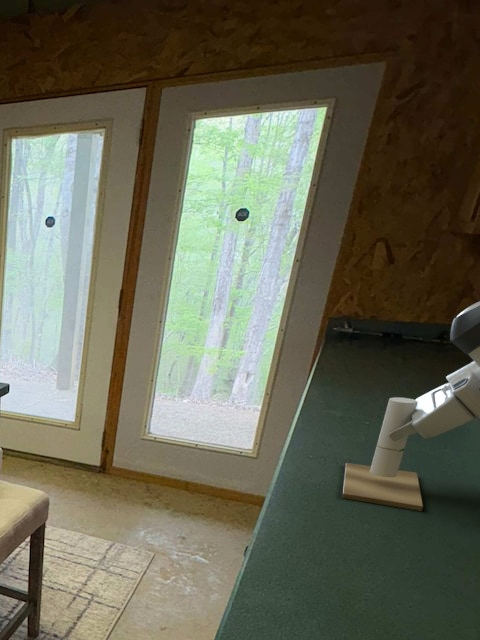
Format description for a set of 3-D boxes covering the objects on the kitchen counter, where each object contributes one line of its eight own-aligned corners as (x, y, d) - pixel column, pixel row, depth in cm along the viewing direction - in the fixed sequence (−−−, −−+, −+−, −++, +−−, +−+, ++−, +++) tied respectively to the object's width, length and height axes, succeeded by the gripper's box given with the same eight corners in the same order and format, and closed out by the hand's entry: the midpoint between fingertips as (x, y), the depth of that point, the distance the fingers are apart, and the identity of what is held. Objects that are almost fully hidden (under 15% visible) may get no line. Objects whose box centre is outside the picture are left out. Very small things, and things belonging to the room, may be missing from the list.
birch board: (345, 467, 136) (346, 462, 136) (415, 477, 129) (417, 472, 129) (341, 498, 121) (343, 493, 121) (421, 511, 114) (423, 506, 114)
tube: (376, 477, 123) (397, 402, 117) (365, 469, 126) (384, 397, 121) (401, 477, 122) (423, 403, 116) (388, 470, 126) (409, 397, 120)
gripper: (457, 366, 120) (381, 409, 129) (464, 387, 105) (377, 434, 115) (481, 391, 119) (402, 433, 128) (492, 416, 104) (402, 461, 114)
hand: (391, 433), depth 121 cm, fingers closed on tube, 4 cm apart
